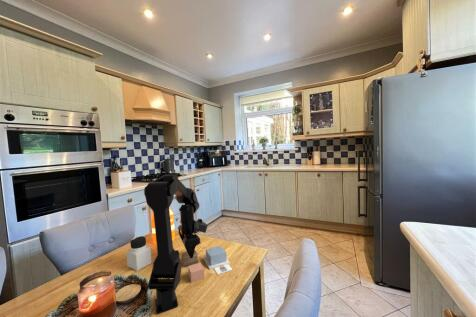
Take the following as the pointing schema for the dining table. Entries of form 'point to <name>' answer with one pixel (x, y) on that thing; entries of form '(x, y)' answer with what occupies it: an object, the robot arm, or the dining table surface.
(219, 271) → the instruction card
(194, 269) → the terracotta brick
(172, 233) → the orange juice
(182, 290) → the dining table surface
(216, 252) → the grey square block
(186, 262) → the walnut brick
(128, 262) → the medicine bottle
